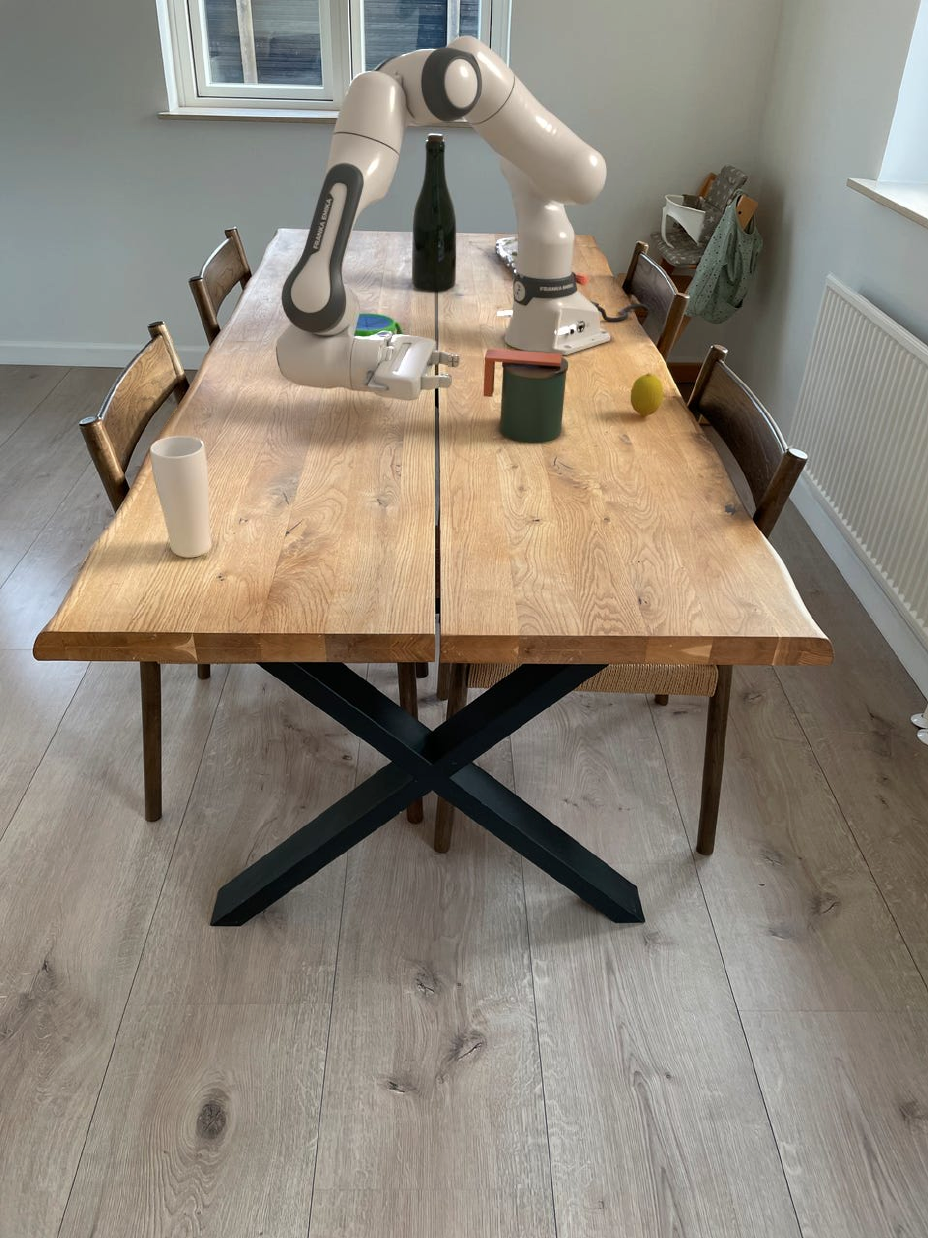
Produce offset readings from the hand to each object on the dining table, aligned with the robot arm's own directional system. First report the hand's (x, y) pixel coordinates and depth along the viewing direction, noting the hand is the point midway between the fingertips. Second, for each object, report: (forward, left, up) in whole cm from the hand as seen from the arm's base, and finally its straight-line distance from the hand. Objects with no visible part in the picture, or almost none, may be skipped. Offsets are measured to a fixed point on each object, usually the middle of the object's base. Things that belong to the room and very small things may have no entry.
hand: (455, 370), depth 165 cm
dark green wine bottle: (-39, -71, -10) cm, 82 cm away
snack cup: (+2, -27, -10) cm, 29 cm away
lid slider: (-9, +7, -3) cm, 12 cm away
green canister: (-10, +9, -9) cm, 16 cm away
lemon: (-31, +14, -10) cm, 35 cm away
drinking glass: (+53, +19, -10) cm, 57 cm away
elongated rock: (-68, -78, -10) cm, 104 cm away
